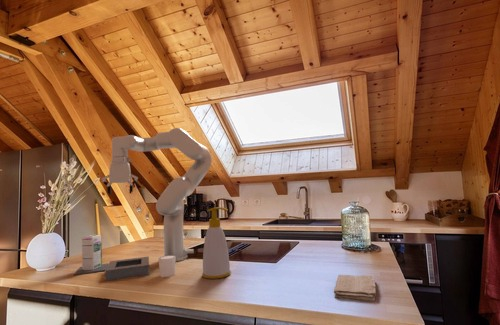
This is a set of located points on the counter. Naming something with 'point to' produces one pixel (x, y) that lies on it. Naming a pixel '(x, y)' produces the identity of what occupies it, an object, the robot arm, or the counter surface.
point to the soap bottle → (215, 249)
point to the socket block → (127, 268)
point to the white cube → (167, 266)
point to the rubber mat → (100, 269)
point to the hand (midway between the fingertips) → (120, 193)
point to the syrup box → (91, 252)
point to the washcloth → (355, 287)
